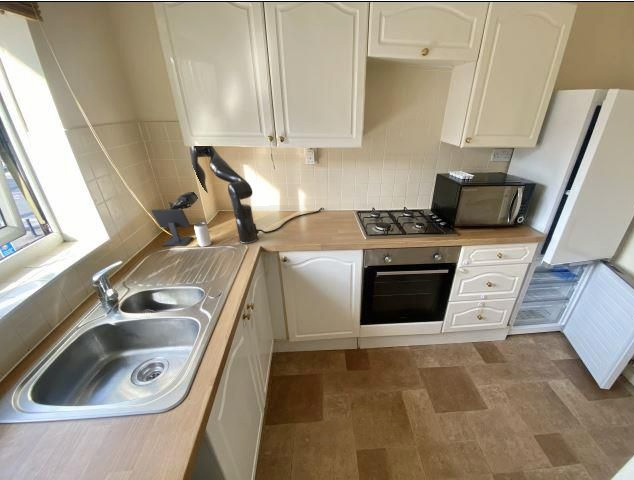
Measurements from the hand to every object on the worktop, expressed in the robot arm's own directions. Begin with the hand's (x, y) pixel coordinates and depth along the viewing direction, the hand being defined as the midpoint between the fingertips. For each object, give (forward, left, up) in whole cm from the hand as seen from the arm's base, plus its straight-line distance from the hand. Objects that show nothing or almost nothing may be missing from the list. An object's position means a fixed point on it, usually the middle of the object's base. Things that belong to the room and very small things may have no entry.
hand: (172, 209), depth 153 cm
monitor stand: (+2, +2, -18) cm, 18 cm away
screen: (+1, +1, -9) cm, 9 cm away
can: (-6, +17, -18) cm, 25 cm away
